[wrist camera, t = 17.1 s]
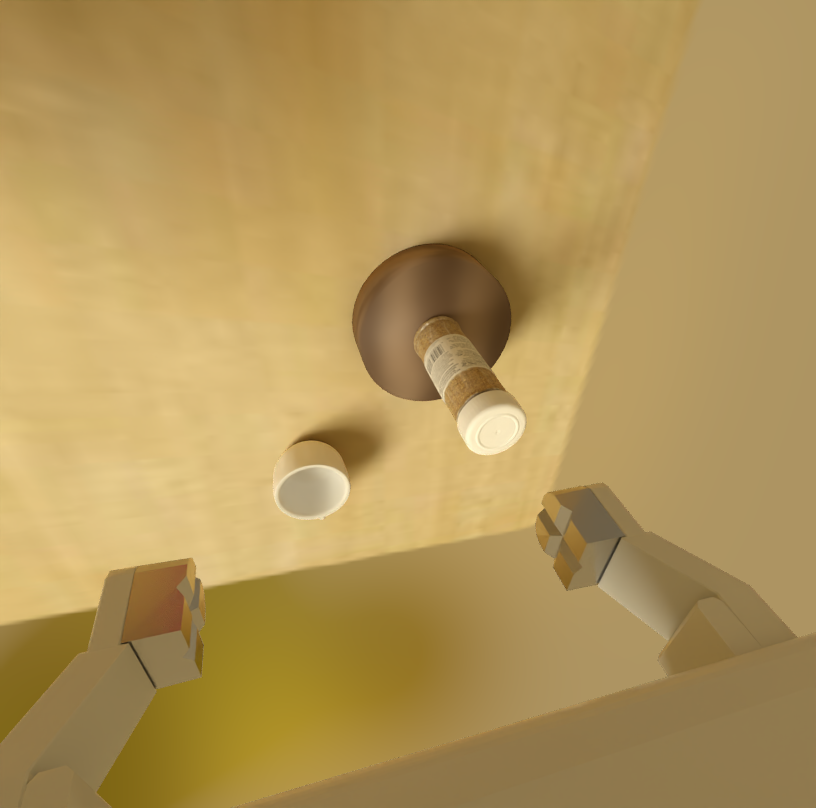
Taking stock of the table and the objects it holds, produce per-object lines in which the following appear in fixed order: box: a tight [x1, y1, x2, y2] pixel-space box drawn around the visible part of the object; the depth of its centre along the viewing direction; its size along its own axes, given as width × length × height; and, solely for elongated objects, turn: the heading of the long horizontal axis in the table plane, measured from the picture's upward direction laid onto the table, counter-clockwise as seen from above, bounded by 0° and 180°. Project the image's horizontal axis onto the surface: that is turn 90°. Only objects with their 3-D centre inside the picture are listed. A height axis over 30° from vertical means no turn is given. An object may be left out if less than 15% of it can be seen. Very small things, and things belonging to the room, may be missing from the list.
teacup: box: [273, 441, 351, 520], centre depth 52 cm, size 10×8×5 cm
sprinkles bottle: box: [414, 316, 526, 455], centre depth 38 cm, size 5×5×13 cm
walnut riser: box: [352, 244, 511, 401], centre depth 45 cm, size 14×14×4 cm
